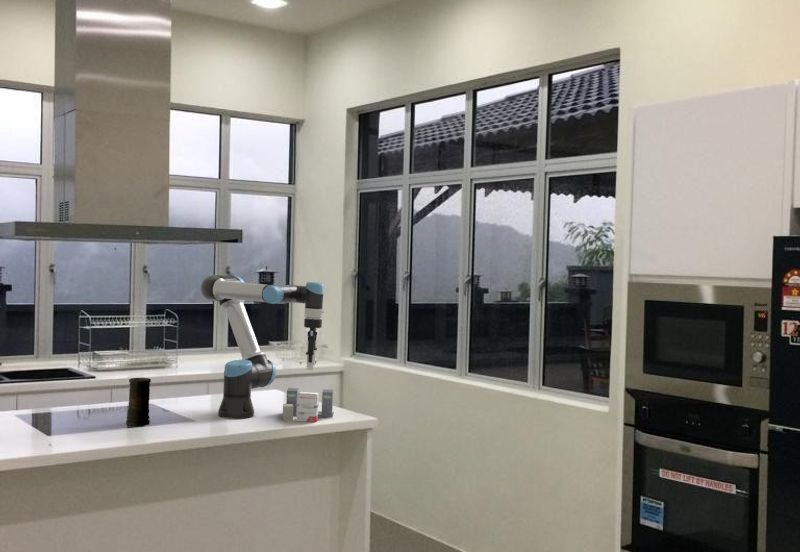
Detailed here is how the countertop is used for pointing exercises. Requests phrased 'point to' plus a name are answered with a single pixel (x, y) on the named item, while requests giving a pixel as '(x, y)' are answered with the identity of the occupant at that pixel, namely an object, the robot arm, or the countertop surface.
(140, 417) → the container
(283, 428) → the countertop surface
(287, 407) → the block
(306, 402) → the ink box
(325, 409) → the grey holder fixture
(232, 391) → the robot arm
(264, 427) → the countertop surface
